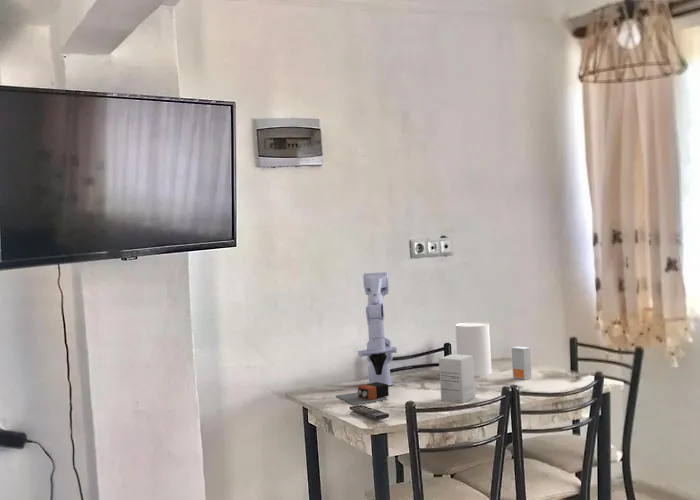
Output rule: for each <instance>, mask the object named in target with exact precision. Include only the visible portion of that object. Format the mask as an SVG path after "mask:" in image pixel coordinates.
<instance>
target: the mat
mask: <svg viewBox="0 0 700 500" xmlns="http://www.w3.org/2000/svg"><path fill="white" fill-rule="evenodd" d="M335 396H336V398H337V399H340V400H341V401H344V402H346V403H348V404H350V405H351V406H353V405H354V406H360V405H359V404H361V405H366V404H365V403H368V404H372V403H371V402H374V403H377V402H376V401H381V402H384V401H383V400H387V401H388V398H385V397H382V398H377V399H373V400H366V399H362V398H359V397H358V394H357V392H351V393H345V394H344V393H343V394H337V395H335Z"/></svg>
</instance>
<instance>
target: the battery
mask: <svg viewBox="0 0 700 500" xmlns="http://www.w3.org/2000/svg"><path fill="white" fill-rule="evenodd" d="M356 393H357V394H358V397H359V398H362V399H366V400H373V399H377V398H382V397H384V398H385V397H389V386H388V384H384V383H379V382H375V383H370V384H367V383H366V384H360V385H358V386H357V391H356Z"/></svg>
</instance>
